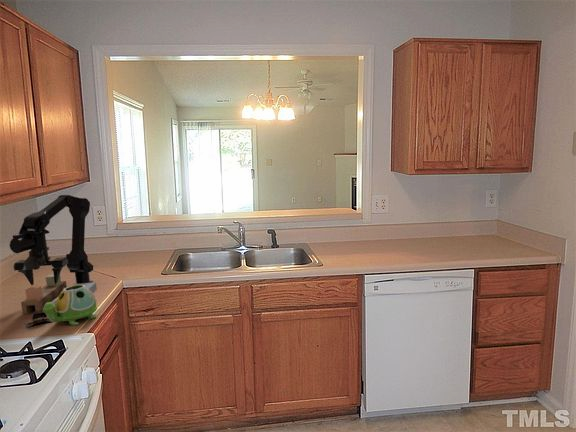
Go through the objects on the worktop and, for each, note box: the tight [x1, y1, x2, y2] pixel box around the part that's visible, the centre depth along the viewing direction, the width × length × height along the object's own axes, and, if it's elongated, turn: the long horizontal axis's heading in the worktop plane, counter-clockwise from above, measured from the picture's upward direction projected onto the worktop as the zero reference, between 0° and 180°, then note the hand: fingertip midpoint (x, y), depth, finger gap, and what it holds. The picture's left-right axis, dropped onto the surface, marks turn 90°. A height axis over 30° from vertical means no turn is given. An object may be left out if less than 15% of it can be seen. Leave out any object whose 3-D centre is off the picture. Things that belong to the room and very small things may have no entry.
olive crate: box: [45, 273, 62, 286], centre depth 181 cm, size 4×4×4 cm
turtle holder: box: [43, 284, 98, 326], centre depth 152 cm, size 12×18×12 cm
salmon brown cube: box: [25, 285, 43, 300], centre depth 165 cm, size 4×4×4 cm
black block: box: [24, 310, 53, 329], centre depth 153 cm, size 12×7×5 cm, turn 123°
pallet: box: [20, 280, 68, 315], centre depth 174 cm, size 24×6×5 cm, turn 5°
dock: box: [52, 282, 98, 313], centre depth 174 cm, size 25×9×3 cm, turn 5°
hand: (44, 284), depth 173 cm, fingers open, 9 cm apart
